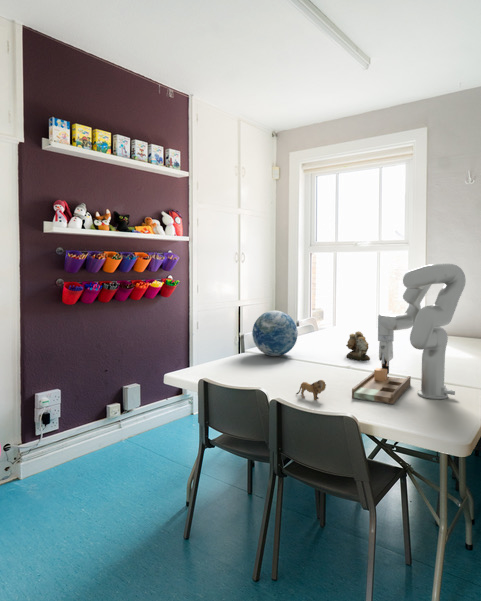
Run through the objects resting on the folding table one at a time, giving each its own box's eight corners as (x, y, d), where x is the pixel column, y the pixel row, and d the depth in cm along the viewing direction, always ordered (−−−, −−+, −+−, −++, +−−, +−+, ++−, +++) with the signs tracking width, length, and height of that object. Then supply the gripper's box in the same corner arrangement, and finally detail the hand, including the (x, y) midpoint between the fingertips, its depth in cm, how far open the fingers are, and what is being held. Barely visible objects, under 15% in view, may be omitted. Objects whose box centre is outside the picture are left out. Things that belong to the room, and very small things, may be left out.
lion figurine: (327, 398, 196) (327, 379, 195) (323, 402, 191) (322, 382, 191) (298, 393, 204) (298, 375, 203) (293, 396, 200) (292, 377, 199)
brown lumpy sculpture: (340, 356, 282) (340, 330, 281) (353, 354, 288) (354, 329, 286) (361, 361, 266) (361, 334, 265) (374, 359, 272) (375, 332, 271)
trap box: (410, 385, 214) (410, 376, 214) (393, 404, 186) (393, 394, 185) (373, 380, 224) (373, 371, 224) (351, 398, 196) (352, 388, 195)
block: (387, 378, 216) (387, 368, 215) (384, 381, 211) (384, 371, 211) (377, 377, 218) (377, 367, 218) (374, 379, 214) (374, 369, 214)
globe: (306, 354, 288) (306, 309, 286) (278, 362, 267) (278, 314, 264) (272, 349, 309) (271, 307, 306) (243, 356, 287) (242, 311, 285)
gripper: (389, 340, 212) (389, 377, 213) (396, 336, 224) (396, 371, 226) (373, 339, 216) (373, 375, 218) (382, 335, 228) (381, 369, 230)
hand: (385, 373), depth 222 cm, fingers closed
